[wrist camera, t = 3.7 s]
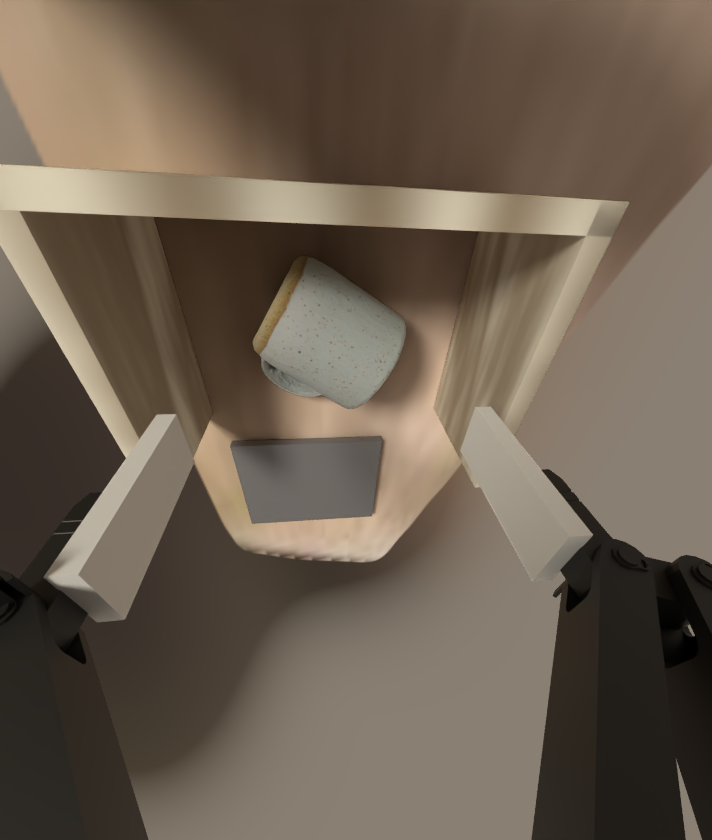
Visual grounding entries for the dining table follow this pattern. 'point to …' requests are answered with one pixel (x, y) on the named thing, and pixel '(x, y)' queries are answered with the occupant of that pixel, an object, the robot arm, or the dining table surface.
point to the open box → (290, 203)
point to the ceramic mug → (328, 336)
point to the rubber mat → (308, 477)
